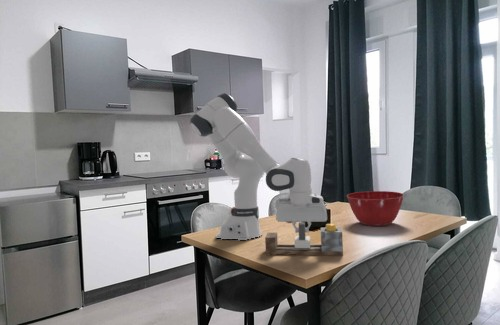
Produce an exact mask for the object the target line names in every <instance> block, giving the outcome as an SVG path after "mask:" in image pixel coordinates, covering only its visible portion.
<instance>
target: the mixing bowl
mask: <svg viewBox="0 0 500 325" xmlns="http://www.w3.org/2000/svg"><path fill="white" fill-rule="evenodd" d="M346 197H347V200H348V204H349V207H350V209H351V212H352V213H353V214H354V217H355V218H356V220H357V221H358V222H360V223H361V224H363V225H365V226H368V227H386V226H389V225H390V224H392V223H393V222H394V221H395V219H396V218H397V217H398V214H399V212H400V210H401V206H402V203H403V199H404V197H405V194H404V193H401V192H398V191H397V192H396V191H390V190H389V191H388V190H387V191H386V190H382V191H381V190H377V191H376V190H373V191H372V190H371V191H370V190H369V191H359V192H358V191H356V192H353V193H348V194H346Z"/></svg>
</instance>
